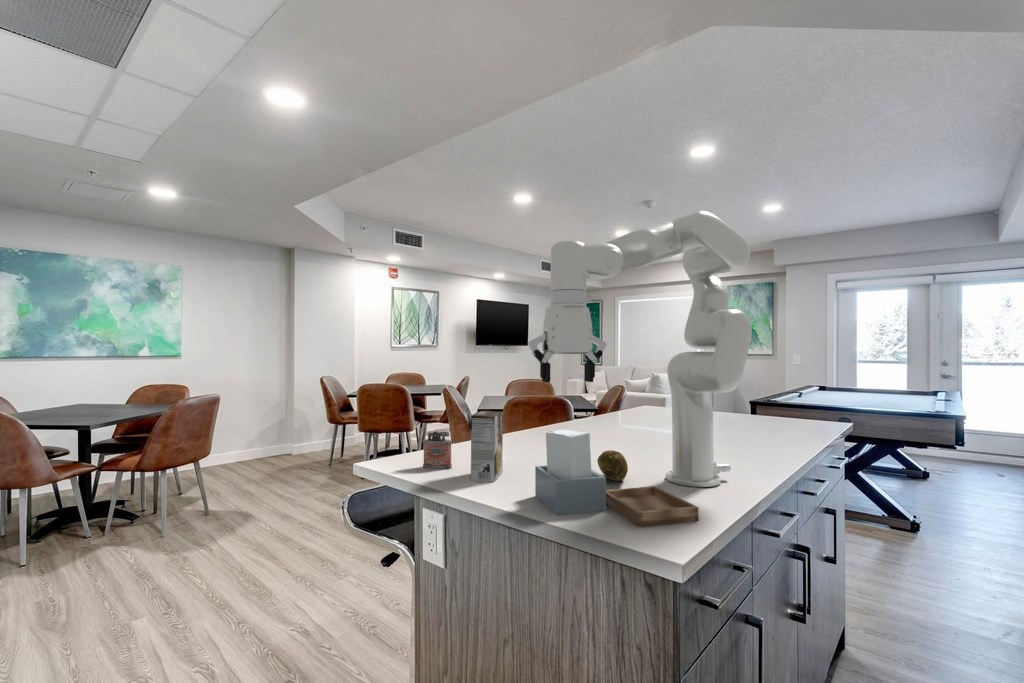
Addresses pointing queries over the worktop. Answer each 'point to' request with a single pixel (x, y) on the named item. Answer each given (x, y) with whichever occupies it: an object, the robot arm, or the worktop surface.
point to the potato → (613, 465)
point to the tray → (650, 506)
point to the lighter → (437, 451)
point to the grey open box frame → (570, 492)
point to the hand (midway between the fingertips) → (567, 381)
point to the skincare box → (568, 454)
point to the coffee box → (486, 446)
